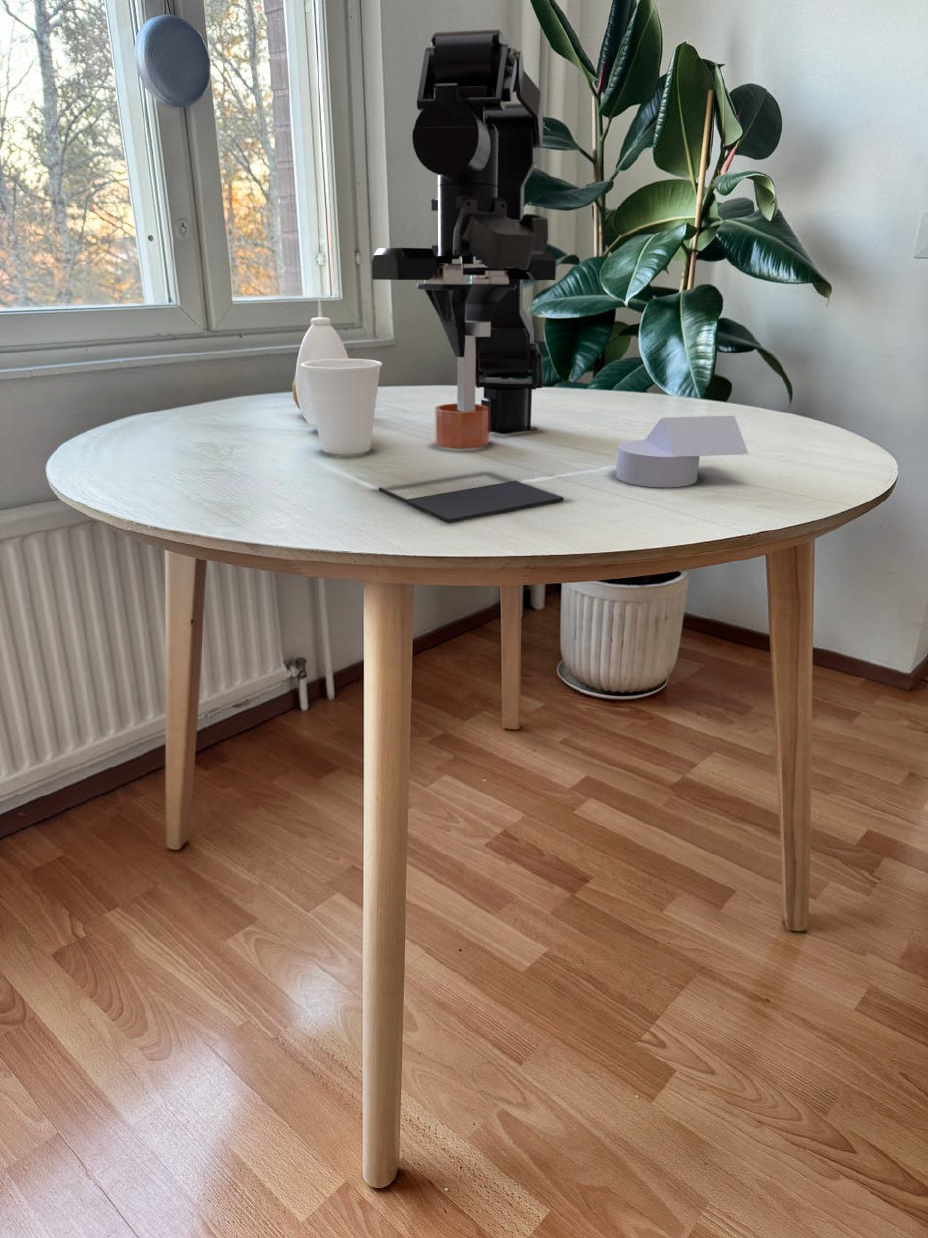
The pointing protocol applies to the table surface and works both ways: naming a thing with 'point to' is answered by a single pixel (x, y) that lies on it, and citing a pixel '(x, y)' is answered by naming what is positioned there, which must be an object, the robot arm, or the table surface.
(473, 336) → the hex key
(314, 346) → the sauce bottle
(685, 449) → the wedge on round base
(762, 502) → the table surface
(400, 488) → the table surface
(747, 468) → the table surface
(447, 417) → the pencil pot
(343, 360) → the cup
